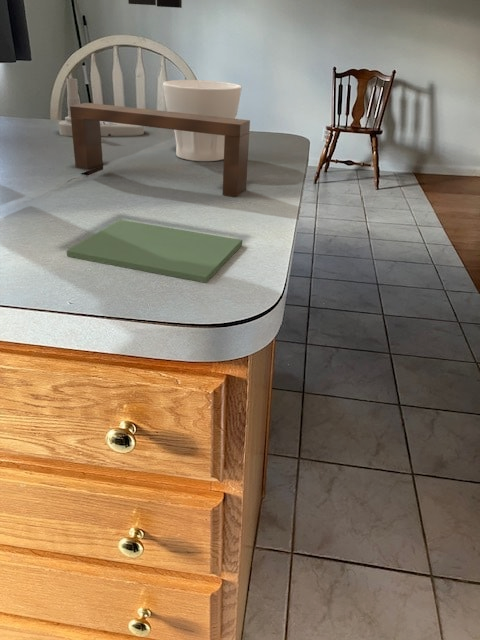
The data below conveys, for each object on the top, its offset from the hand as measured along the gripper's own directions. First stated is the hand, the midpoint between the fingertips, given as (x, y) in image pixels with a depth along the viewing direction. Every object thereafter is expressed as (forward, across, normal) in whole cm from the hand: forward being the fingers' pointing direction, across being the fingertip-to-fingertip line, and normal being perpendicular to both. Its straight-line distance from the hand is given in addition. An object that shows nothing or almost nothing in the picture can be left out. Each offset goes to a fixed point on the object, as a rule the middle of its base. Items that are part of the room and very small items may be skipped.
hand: (156, 5), depth 58 cm
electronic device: (+21, +30, +25) cm, 44 cm away
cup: (+21, +25, +4) cm, 33 cm away
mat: (+21, -16, -7) cm, 27 cm away
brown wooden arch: (+21, +7, +4) cm, 22 cm away
